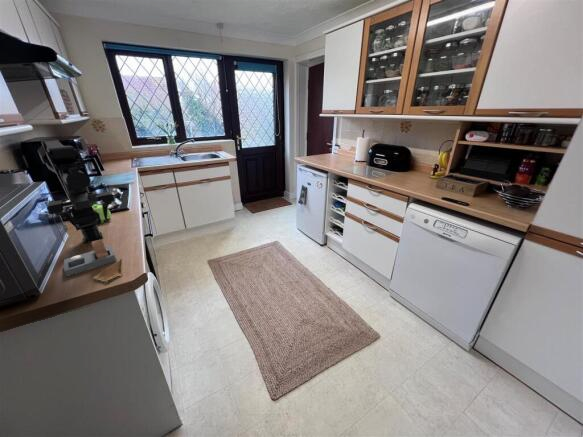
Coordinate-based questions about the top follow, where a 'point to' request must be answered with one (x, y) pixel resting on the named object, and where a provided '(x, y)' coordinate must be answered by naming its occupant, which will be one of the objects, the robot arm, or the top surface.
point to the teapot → (101, 212)
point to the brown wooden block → (99, 249)
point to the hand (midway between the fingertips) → (91, 222)
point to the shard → (110, 271)
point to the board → (87, 261)
